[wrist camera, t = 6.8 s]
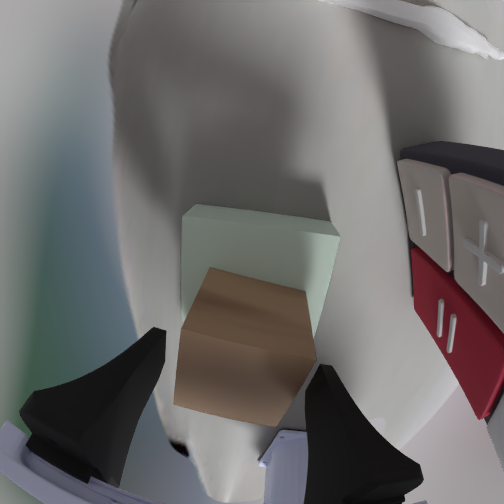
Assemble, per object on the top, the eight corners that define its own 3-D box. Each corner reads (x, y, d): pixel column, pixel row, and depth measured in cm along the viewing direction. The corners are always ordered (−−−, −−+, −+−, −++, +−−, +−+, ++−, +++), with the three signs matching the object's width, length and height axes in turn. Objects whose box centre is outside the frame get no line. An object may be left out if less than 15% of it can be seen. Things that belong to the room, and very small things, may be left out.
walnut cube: (277, 359, 16) (276, 427, 12) (196, 339, 16) (173, 404, 11) (305, 291, 14) (316, 359, 10) (209, 267, 14) (181, 328, 10)
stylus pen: (491, 43, 9) (505, 39, 7) (494, 75, 10) (510, 72, 8) (279, -18, 10) (278, -32, 9) (278, 15, 12) (276, 2, 10)
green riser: (300, 341, 19) (302, 371, 17) (194, 327, 19) (183, 355, 17) (329, 219, 16) (340, 236, 13) (197, 202, 16) (182, 215, 13)
